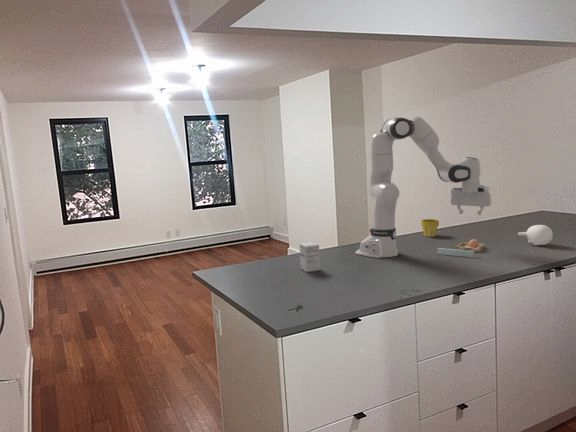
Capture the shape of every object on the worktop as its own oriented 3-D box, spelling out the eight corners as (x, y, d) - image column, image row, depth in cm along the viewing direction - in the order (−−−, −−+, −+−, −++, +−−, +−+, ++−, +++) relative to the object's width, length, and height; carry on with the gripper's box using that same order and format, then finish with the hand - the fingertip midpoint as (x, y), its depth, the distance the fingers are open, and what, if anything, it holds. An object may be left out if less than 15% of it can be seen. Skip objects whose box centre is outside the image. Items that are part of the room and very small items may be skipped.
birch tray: (455, 250, 255) (455, 246, 255) (462, 245, 265) (462, 242, 265) (479, 252, 248) (479, 248, 248) (485, 247, 258) (485, 244, 258)
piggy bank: (555, 249, 255) (529, 246, 268) (558, 227, 256) (532, 225, 269) (541, 245, 249) (515, 242, 262) (544, 223, 250) (518, 221, 263)
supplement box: (300, 268, 233) (299, 243, 231) (314, 266, 235) (313, 241, 233) (306, 272, 226) (305, 246, 224) (320, 270, 229) (319, 244, 227)
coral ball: (465, 244, 255) (472, 238, 253) (468, 242, 259) (474, 236, 257) (472, 251, 254) (479, 244, 251) (475, 249, 258) (481, 243, 255)
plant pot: (431, 233, 301) (431, 218, 300) (442, 236, 292) (442, 220, 290) (417, 235, 298) (417, 220, 296) (428, 238, 288) (428, 222, 287)
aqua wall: (437, 253, 250) (437, 248, 249) (437, 253, 251) (437, 247, 250) (472, 257, 239) (473, 251, 239) (473, 257, 240) (473, 251, 240)
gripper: (449, 188, 255) (448, 213, 257) (489, 189, 243) (488, 216, 245) (452, 186, 260) (452, 212, 262) (492, 188, 248) (491, 214, 250)
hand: (470, 214), depth 254 cm, fingers open, 8 cm apart
